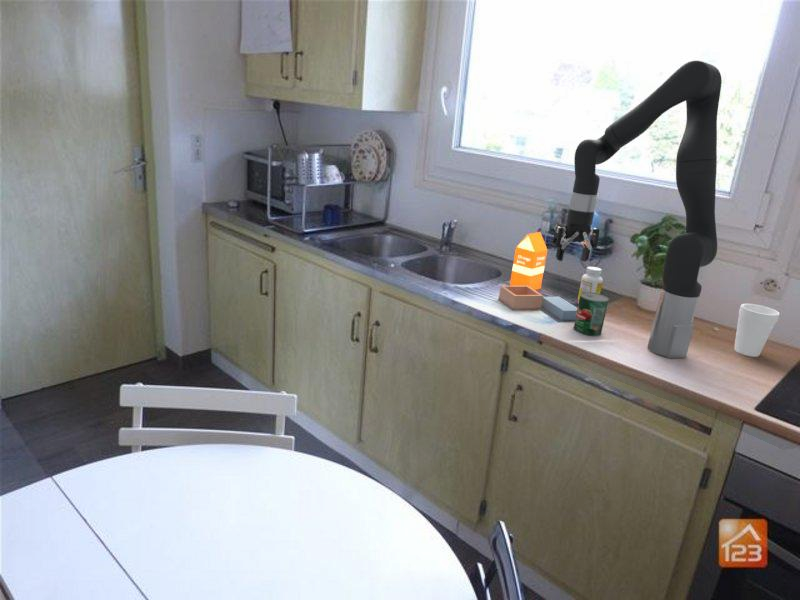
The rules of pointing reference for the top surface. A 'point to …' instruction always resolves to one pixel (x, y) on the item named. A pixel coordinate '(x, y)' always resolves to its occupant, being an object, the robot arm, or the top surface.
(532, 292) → the brown open box
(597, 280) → the supplement bottle
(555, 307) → the blue-grey rectangular block
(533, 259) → the orange juice
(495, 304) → the top surface
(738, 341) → the foam cup
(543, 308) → the mat
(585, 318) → the canned tomato
